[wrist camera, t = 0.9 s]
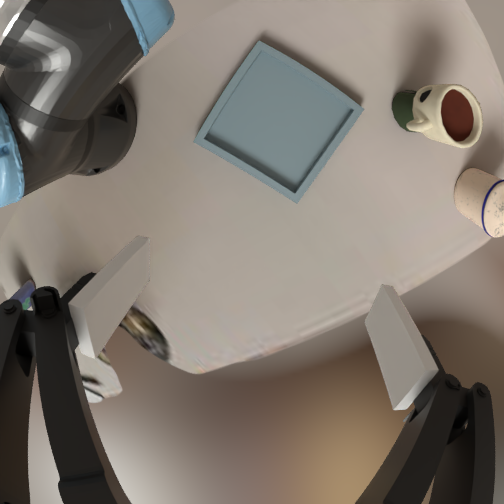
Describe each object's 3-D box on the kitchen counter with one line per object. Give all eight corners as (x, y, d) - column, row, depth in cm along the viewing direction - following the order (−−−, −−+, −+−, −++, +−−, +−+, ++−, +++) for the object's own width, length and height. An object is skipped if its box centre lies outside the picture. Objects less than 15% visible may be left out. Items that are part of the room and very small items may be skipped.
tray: (196, 140, 36) (193, 141, 34) (259, 43, 29) (258, 40, 27) (295, 199, 39) (296, 203, 37) (359, 109, 32) (364, 109, 31)
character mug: (425, 78, 29) (480, 75, 17) (442, 122, 31) (498, 133, 20) (368, 100, 32) (413, 97, 20) (388, 146, 34) (437, 163, 23)
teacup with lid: (456, 224, 39) (495, 256, 29) (447, 176, 35) (492, 200, 25) (498, 199, 36) (538, 224, 25) (492, 153, 32) (537, 171, 22)
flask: (29, 276, 48) (2, 303, 39) (37, 283, 49) (11, 312, 40) (26, 299, 52) (3, 326, 43) (34, 306, 53) (11, 333, 43)
